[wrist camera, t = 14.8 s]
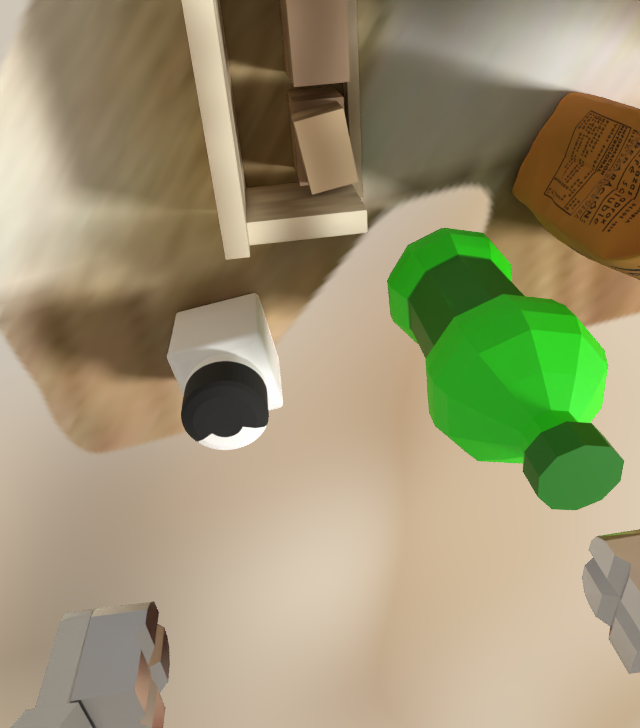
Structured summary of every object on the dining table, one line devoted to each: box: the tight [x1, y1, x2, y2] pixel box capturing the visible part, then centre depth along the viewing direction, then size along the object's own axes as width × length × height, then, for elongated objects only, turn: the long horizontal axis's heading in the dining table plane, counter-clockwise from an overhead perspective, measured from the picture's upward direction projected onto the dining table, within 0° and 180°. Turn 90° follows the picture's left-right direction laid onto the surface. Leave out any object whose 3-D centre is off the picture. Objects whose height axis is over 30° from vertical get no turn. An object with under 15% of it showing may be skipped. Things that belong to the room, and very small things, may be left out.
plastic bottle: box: [387, 228, 624, 510], centre depth 38 cm, size 10×10×25 cm
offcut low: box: [288, 87, 344, 186], centre depth 40 cm, size 3×5×5 cm, turn 4°
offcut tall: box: [279, 0, 350, 87], centre depth 35 cm, size 3×6×8 cm, turn 4°
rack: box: [181, 0, 368, 260], centre depth 35 cm, size 10×18×10 cm, turn 4°
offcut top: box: [291, 101, 358, 195], centre depth 36 cm, size 3×4×3 cm
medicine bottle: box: [167, 293, 283, 450], centre depth 45 cm, size 7×7×12 cm
